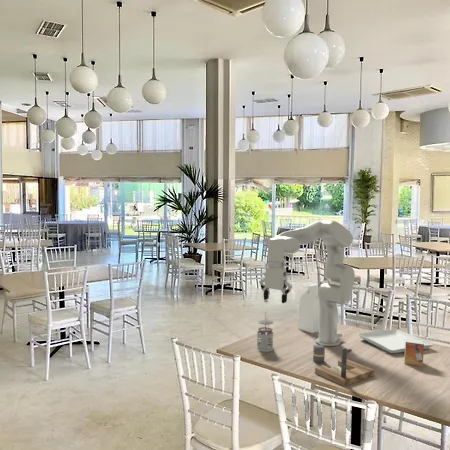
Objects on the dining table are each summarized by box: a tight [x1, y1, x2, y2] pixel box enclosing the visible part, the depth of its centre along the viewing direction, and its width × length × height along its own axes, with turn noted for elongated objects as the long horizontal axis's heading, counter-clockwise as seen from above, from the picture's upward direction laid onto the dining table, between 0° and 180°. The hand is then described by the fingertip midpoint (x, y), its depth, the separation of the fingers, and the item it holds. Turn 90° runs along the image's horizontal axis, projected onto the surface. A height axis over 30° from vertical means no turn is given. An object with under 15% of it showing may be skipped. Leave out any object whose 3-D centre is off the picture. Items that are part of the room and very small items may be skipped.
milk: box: [296, 283, 319, 334], centre depth 259 cm, size 12×12×26 cm
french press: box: [255, 299, 275, 352], centre depth 226 cm, size 10×12×25 cm
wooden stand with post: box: [314, 347, 376, 387], centre depth 194 cm, size 20×16×14 cm
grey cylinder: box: [312, 344, 326, 364], centre depth 209 cm, size 5×5×7 cm
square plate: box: [357, 329, 434, 354], centre depth 235 cm, size 27×27×4 cm
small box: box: [403, 339, 425, 367], centre depth 208 cm, size 8×6×10 cm
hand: (274, 300), depth 208 cm, fingers open, 9 cm apart
